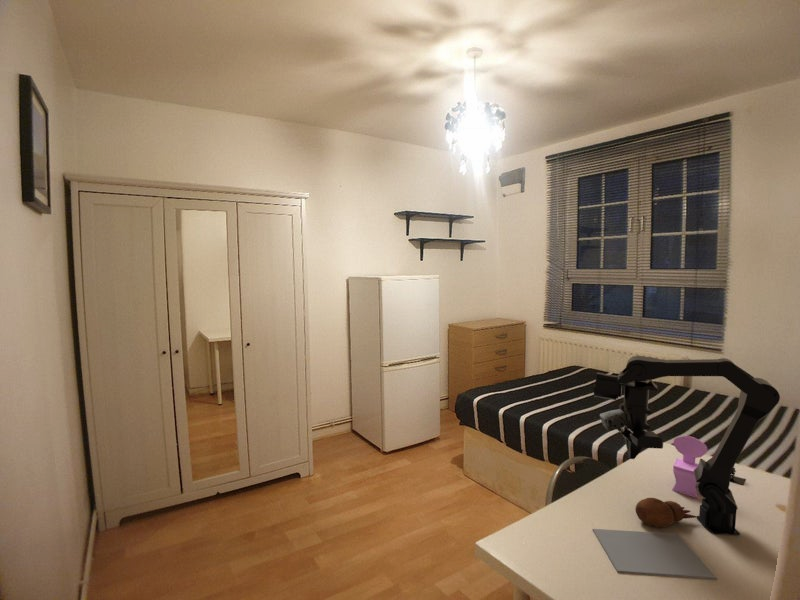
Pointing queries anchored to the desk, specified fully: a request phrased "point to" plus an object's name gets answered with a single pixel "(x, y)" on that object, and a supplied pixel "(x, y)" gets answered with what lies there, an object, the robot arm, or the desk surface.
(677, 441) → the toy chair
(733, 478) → the build plate
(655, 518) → the wooden figurine
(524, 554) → the desk surface
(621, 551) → the mat
